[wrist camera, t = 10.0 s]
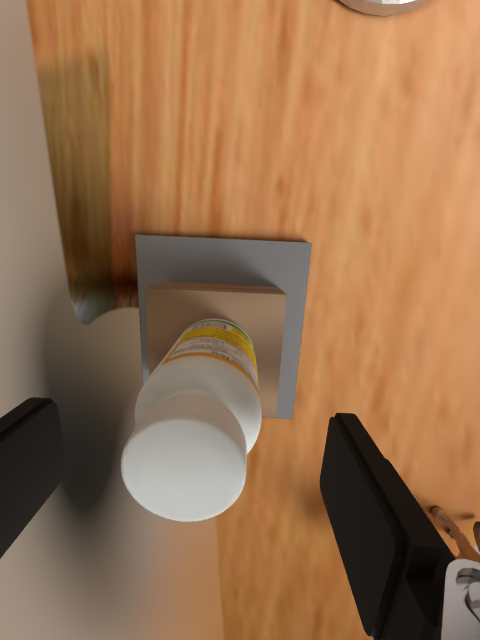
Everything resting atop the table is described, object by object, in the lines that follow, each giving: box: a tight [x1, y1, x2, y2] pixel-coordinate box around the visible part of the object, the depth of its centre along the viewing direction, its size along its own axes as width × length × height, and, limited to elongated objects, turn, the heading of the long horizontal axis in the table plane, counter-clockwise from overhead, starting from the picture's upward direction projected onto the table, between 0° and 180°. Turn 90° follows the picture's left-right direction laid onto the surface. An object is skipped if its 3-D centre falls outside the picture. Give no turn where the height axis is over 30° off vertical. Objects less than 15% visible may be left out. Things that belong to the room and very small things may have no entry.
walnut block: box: [145, 281, 287, 418], centre depth 20 cm, size 9×9×5 cm
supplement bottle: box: [121, 319, 262, 522], centre depth 13 cm, size 5×5×10 cm
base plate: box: [135, 235, 312, 419], centre depth 23 cm, size 16×14×1 cm
